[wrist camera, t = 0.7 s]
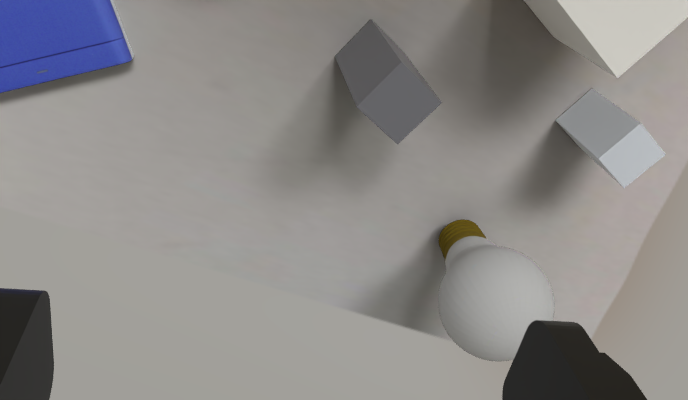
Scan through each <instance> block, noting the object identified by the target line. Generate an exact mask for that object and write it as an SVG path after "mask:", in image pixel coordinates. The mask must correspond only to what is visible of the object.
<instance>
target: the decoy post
mask: <svg viewBox="0 0 688 400" xmlns="http://www.w3.org/2000/svg"><path fill="white" fill-rule="evenodd" d="M556 121H557V122H558V124H559V125H560V126H561V127H562V128H563V129H564V130H565V131H566V133H567V134H568V135H569V136H570V137H571V138H572V139H573V141H574V142H575V143H576V144H577V145H578V146H579V147H580V148H581V149H582V150H583V151H584V152H585V153H586V154H587V155H588V156H589V157H591V158H592V159H593V160H594V161H595V162H596V163H597V164H598V165H599V166H600V167H601V168H603V169H604V170H605V171H606V172H607V173H608V174H609V175H610V176H611V177H612V178H613V179H615V180H616V181H617V182H618V183H619V184H620V185H621V186H622V187H623V188H625V187H626V186H627V185H629V184H630V183H631V182H632V181H634V180H635V179H636V178H637V177H639V176H640V175H641V174H642V173H643V172H645V171H646V170H647V169H648V168H650V167H651V166H652V165H653V164H655V163H656V162H657V161H658V160H660V159H661V158H662V157H663V156H665V155H666V154H665V153H664V151H663V150H662V149H661V148H660V146H659V145H658V144H657V143H656V141H655V140H654V139H653V137H652V136H651V135H650V134H649V132H648V131H647V130H646V129H645V127H644V126H643V125H642V124H641V123H640V122H639V121H638V120H636V119H635V118H633V117H632V116H631V115H629V114H628V113H626V112H625V111H624V110H622V109H621V108H619V107H618V106H617V105H615V104H614V103H612V102H611V101H610V100H608V99H607V98H605V97H604V96H603V95H601V94H600V93H598V92H597V91H596V90H594V89H593V88H592V89H591V90H590V91H588V92H587V93H586V94H585V95H584V96H583V97H582V98H580V99H579V100H578V101H577V102H576V103H575V104H574V105H572V106H571V107H570V108H569V109H568V110H567V111H566V112H564V113H563V114H562V115H561V116H560V117H559V118H558V119H556Z"/></svg>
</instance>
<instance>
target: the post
mask: <svg viewBox="0 0 688 400" xmlns="http://www.w3.org/2000/svg"><path fill="white" fill-rule="evenodd" d="M335 58H336V60H337V63H338V65H339V67H340V70H341V72H342V74H343V77H344V79H345V81H346V84H347V86H348V88H349V91H350V93H351V95H352V98H353V100H354V102H355V105H356V107H357V108H358V109H359V110H360V111H362V112H363V113H364V114H365V115H366V116H367V117H368V118H369V119H370V120H371V121H372V122H374V123H375V124H376V125H377V126H378V127H379V128H380V129H381V130H382V131H383V132H384V133H386V134H387V135H388V136H389V137H390V138H391V139H392V140H393V141H394V142H395V143H397V144H399V143H400V142H401V141H402V140H403V139H404V138H405V137H406V136H407V135H408V134H409V133H410V132H411V131H412V130H413V129H414V128H416V127H417V126H418V125H419V124H420V123H421V122H422V121H423V120H424V119H425V118H426V117H427V116H428V115H429V114H430V113H431V112H432V111H434V110H435V109H436V108H437V107H438V106H439V105H440V104H441V103H442V102H441V101H440V99H439V98H438V97H437V95H436V94H435V93H434V91H433V90H432V89H431V87H430V86H429V85H428V83H427V82H426V81H425V80H424V78H423V77H422V76H421V74H420V73H419V72H418V70H417V69H416V68H415V66H414V65H413V64H412V62H411V61H410V60H409V58H408V57H407V56H406V54H405V53H404V52H403V51H402V50H401V49H400V48H399V47H398V46H397V45H396V44H395V43H394V42H393V41H392V40H391V39H390V38H389V37H388V36H387V35H386V34H385V33H384V32H383V31H382V30H381V29H380V28H379V27H378V26H377V25H376V24H375V23H374V22H373V21H372V20H370V21H369V22H368V23H367V24H366V25H365V26H364V27H363V28H362V29H361V30H360V31H359V32H358V33H357V34H356V35H355V36H354V37H353V38H352V39H351V40H350V41H349V42H348V43H347V44H346V45H345V46H344V47H343V49H342V50H341V51H340V52H339V53H338V54H337V55H336V56H335Z"/></svg>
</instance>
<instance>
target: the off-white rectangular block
mask: <svg viewBox="0 0 688 400" xmlns="http://www.w3.org/2000/svg"><path fill="white" fill-rule="evenodd" d="M524 1H525V3H526V4H527V5H528V6H529V8H530V9H531V10H532V11H533V12H534V14H535V15H536V16H537V17H538V19H539V20H540V21H541V22H542V24H543V25H544V26H545V27H546V29H547V30H548V31H549V32H550V33H551V35H552V36H553V37H554V38H556V39H557V40H559V41H560V42H562V43H563V44H565V45H566V46H568V47H570V48H571V49H573V50H574V51H576V52H577V53H579V54H581V55H582V56H584V57H585V58H587V59H588V60H590V61H591V62H593V63H595V64H596V65H598V66H599V67H601V68H602V69H604V70H605V71H607V72H609V73H610V74H612V75H613V76H615V77H616V78H618V77H620V76H621V75H622V74H623V73H624V72H625V71H627V70H628V69H629V68H630V67H631V66H632V65H633V64H635V63H636V62H637V61H638V60H639V59H640V58H641V57H643V56H644V55H645V54H646V53H647V52H648V51H650V50H651V49H652V48H653V47H654V46H655V45H656V44H658V43H659V42H660V41H661V40H662V39H663V38H664V37H666V36H667V35H668V34H669V33H670V32H671V31H673V30H674V29H675V28H676V27H677V26H678V25H679V24H681V23H682V22H683V21H684V20H685V19H686V18H688V0H524Z"/></svg>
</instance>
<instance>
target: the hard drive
mask: <svg viewBox="0 0 688 400" xmlns="http://www.w3.org/2000/svg"><path fill="white" fill-rule="evenodd" d="M133 56H134V54H133V51H132V49H131V46H130V43H129V41H128V38H127V36H126V33H125V30H124V27H123V25H122V22H121V19H120V17H119V14H118V12H117V9H116V6H115V4H114V1H113V0H0V93H2V92H6V91H11V90H15V89H19V88H23V87H27V86H31V85H36V84H40V83H44V82H48V81H52V80H56V79H60V78H64V77H69V76H73V75H77V74H82V73H85V72H90V71H94V70H98V69H102V68H107V67H111V66H115V65H119V64H123V63H126V62H129V61H131V60H132V59H133Z"/></svg>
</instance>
